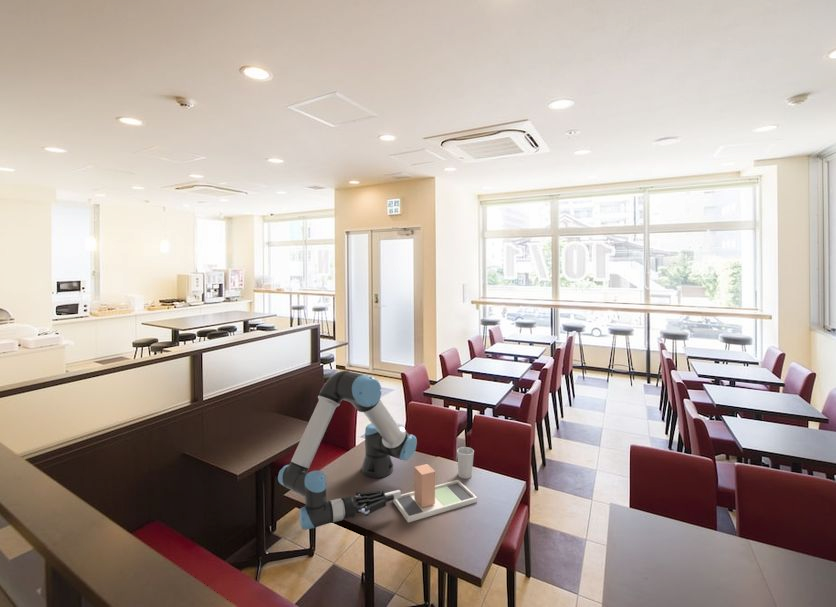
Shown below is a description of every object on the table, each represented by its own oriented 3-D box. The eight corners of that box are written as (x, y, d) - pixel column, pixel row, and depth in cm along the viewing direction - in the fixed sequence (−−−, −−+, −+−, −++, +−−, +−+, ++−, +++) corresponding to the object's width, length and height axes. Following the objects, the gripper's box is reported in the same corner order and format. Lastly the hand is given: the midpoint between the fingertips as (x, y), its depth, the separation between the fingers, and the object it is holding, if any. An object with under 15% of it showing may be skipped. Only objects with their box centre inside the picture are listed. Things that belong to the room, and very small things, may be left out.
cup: (460, 469, 198) (460, 445, 196) (475, 473, 194) (476, 449, 193) (454, 477, 191) (454, 452, 189) (470, 481, 187) (470, 456, 186)
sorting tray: (392, 501, 171) (392, 496, 171) (458, 483, 185) (458, 479, 184) (408, 522, 157) (408, 517, 157) (477, 501, 171) (477, 497, 170)
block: (414, 498, 170) (414, 466, 169) (427, 495, 173) (427, 463, 172) (421, 507, 164) (421, 474, 163) (434, 503, 167) (435, 471, 165)
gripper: (338, 508, 159) (394, 494, 169) (347, 528, 147) (406, 511, 157) (337, 490, 158) (394, 477, 168) (346, 508, 146) (406, 493, 156)
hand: (400, 493), depth 163 cm, fingers closed
